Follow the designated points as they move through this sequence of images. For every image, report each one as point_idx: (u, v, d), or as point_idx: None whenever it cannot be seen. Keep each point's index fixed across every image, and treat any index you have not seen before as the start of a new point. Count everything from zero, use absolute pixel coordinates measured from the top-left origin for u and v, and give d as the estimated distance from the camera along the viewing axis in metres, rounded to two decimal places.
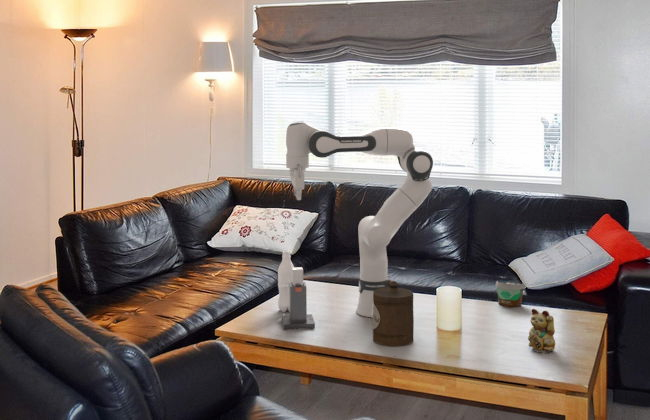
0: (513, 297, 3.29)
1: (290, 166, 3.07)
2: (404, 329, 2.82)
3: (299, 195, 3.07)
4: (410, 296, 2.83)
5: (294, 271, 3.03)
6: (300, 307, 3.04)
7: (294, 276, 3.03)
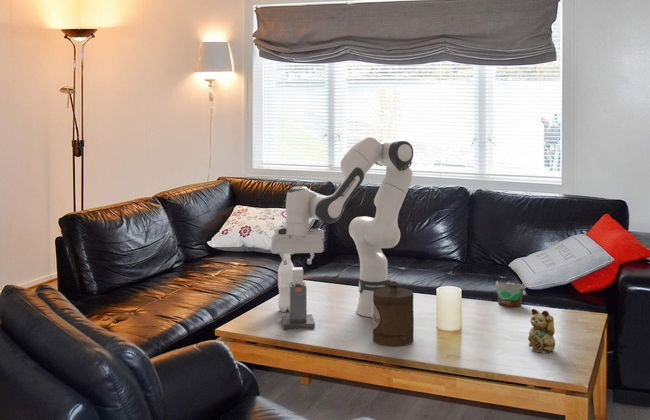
0: (513, 297, 3.29)
1: (306, 232, 3.00)
2: (404, 329, 2.82)
3: (311, 259, 3.05)
4: (410, 296, 2.83)
5: (294, 271, 3.03)
6: (300, 307, 3.04)
7: (294, 276, 3.03)
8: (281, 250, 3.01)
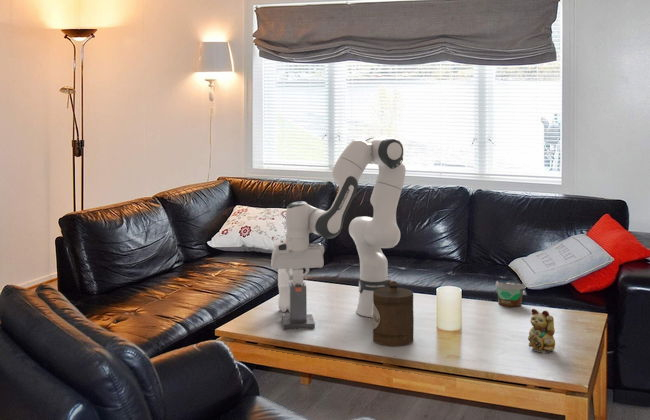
0: (513, 297, 3.29)
1: (306, 247, 3.01)
2: (404, 329, 2.82)
3: (306, 274, 3.06)
4: (410, 296, 2.83)
5: (294, 271, 3.03)
6: (300, 307, 3.04)
7: (294, 276, 3.03)
8: (281, 265, 3.02)
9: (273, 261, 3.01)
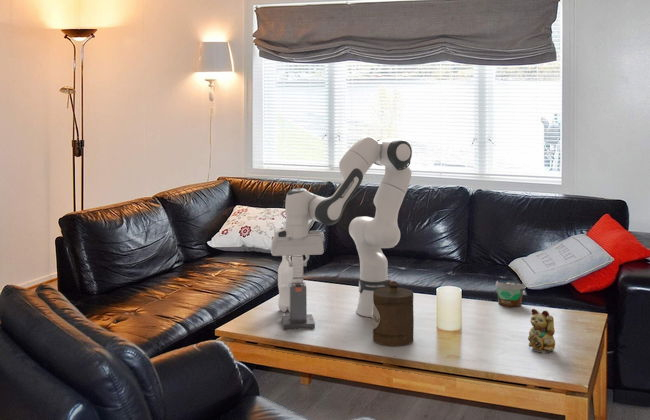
0: (513, 297, 3.29)
1: (306, 234, 3.00)
2: (404, 329, 2.82)
3: (306, 261, 3.05)
4: (410, 296, 2.83)
5: (294, 258, 3.02)
6: (300, 307, 3.04)
7: (294, 263, 3.02)
8: (281, 252, 3.01)
9: (273, 248, 3.00)
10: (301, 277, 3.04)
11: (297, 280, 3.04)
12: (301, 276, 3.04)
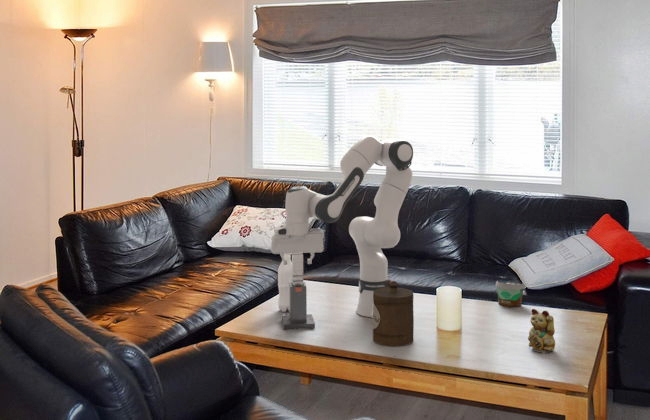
0: (513, 297, 3.29)
1: (306, 232, 3.00)
2: (404, 329, 2.82)
3: (311, 258, 3.05)
4: (410, 296, 2.83)
5: (294, 256, 3.02)
6: (300, 307, 3.04)
7: (294, 261, 3.02)
8: (281, 250, 3.01)
9: (273, 246, 3.00)
10: (301, 275, 3.03)
11: (297, 278, 3.03)
12: (301, 274, 3.03)
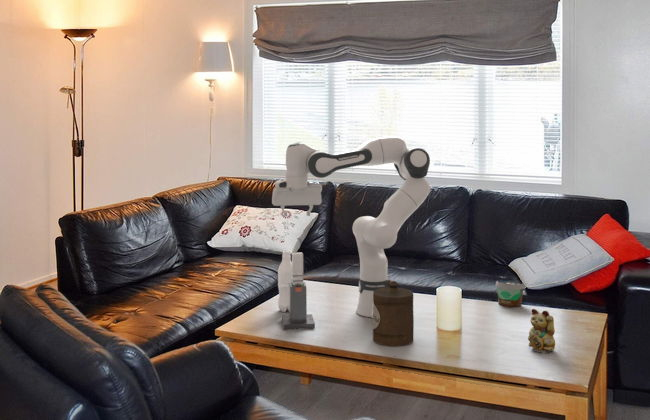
0: (513, 297, 3.29)
1: (305, 185, 3.20)
2: (404, 329, 2.82)
3: (310, 211, 3.25)
4: (410, 296, 2.83)
5: (294, 256, 3.02)
6: (300, 307, 3.04)
7: (294, 261, 3.02)
8: (282, 202, 3.21)
9: (274, 198, 3.20)
10: (301, 275, 3.03)
11: (297, 278, 3.03)
12: (301, 274, 3.03)
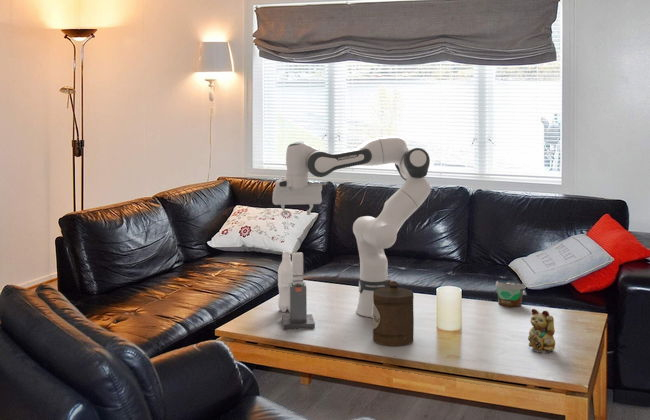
0: (513, 297, 3.29)
1: (305, 184, 3.21)
2: (404, 329, 2.82)
3: (310, 210, 3.26)
4: (410, 296, 2.83)
5: (294, 256, 3.02)
6: (300, 307, 3.04)
7: (294, 261, 3.02)
8: (282, 201, 3.22)
9: (274, 197, 3.22)
10: (301, 275, 3.03)
11: (297, 278, 3.03)
12: (301, 274, 3.03)
